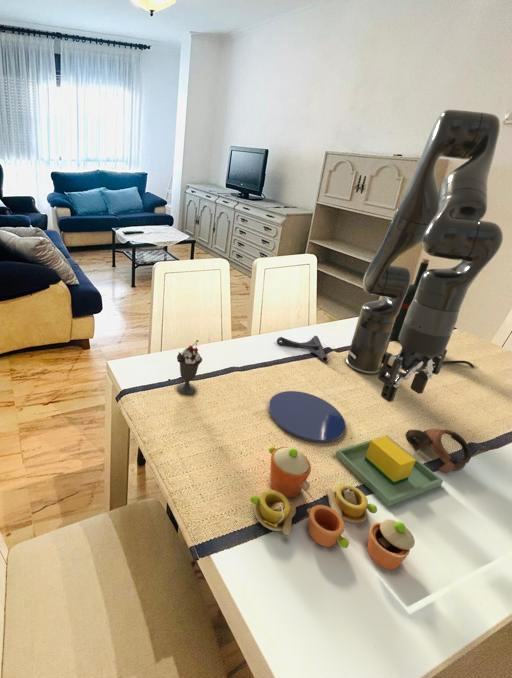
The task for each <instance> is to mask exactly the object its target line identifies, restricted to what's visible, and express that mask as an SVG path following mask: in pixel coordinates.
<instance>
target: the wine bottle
mask: <svg viewBox="0 0 512 678" xmlns="http://www.w3.org/2000/svg"><path fill="white" fill-rule="evenodd" d="M429 262H430V259H429V258H421V262H420V264H419V267H418V271H417V272H416V273H417V274H416V277H415V279H414V282H413V283H411V284H410V285H409V288H408V291H407V294H406V296H405V298H404V301H403V303H402V306H401V309H400V311H399V314H398V315H397V317H396V319H395V322H394V325H393V328H392V332H391V335H390V338H389V339H391V340H393V341H395V342H397V343H400V342H399V340H398V337H399V334H400V331H401V328H402V326H403V323H404V320H405V317H406V314H407V311H408V308H409V306H410V304H411V303H412V301H413V299H414V296H415V293H416V290H417V287H418V284H419V282H420V279H421V276H422V274H423V273H424V272H425V271H426V270H428V267H429Z"/></svg>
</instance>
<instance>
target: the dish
mask: <svg viewBox="0 0 512 678" xmlns="http://www.w3.org/2000/svg"><path fill="white" fill-rule="evenodd" d="M384 436H387V437H388V438H389V439H390V440H392V441H393V442H394V443H395V444H397V445H398V446H399V447H400V448H402V449H403V450H404V451H405V452H407V453H408V454H409V455H410V456H412V457H413V458H414V459H415V460H416V461H415V463H414V466H413V468H412V471H411V473H410V476H409V478H408V480H406V481H403V482H400V483H398V484H395V485H392V484H391V483H390V482H388V481H387V480H386V479H385V478H384V477H383V476H382V475H381V474H380V473H379V472H377V471H376V470H375V469H374V468H373V467H372V466H371V465H370V464H369V463H367V462H366V461H365V460H364V459H365V456H366V454H367V451H368V448H369V445H370V442H371V440H374V439H377V438H380V437H384ZM380 437H376V438H373V439H370V440H367V441H362V442H359V443H356V444H353V445H350V446H347V447H344V448H343V447H342V448H341V449H336V452H335V456H334V457H336V458H337V459H338V460H339V461H340V462H341V463H342V464H343V465H344V466H345V468H347V469H348V470H349V471H350V472H351V473H352V474H353V475H354V476H355V477H356V478H357V479H358V480H359V481H360V482H361V483H362V484H363V485H364V486H366V488H368V490H370V491H371V492H372V493H373V494H374V495H375V496H376V497H377V498H378V499H379V500H380V501H381V502H382V503H383V504H384V505H385V506H386V507H387V508H389V507H392V506H394V505H397V504H398V503H402V502H404V501H407V500H409V499H412V498H414V497H417V496H418V495H421V494H424V493H427V492H429V491H432V490H434V489H437V488H439V487H441V486H442V484H443V481H444V479H442V478H441V477H440V476H439V475H437V474H436V473H435V472H434V471H432V470H431V469H430V468H428V467H427V466H426V465H425V464H424V463H422V462H421V461H420V460H419V459H417V458H416V457H415V456H414V455H413V454H411V453H410V452H408V451H407V450H406V449H404V448H403V447H402V446H401V445H400V444H399V443H397V442H396V441H395V440H393V439H392V438H391V437H389V435H387V434H386V435H382V436H380Z"/></svg>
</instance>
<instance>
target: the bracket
mask: <svg viewBox="0 0 512 678" xmlns="http://www.w3.org/2000/svg"><path fill="white" fill-rule="evenodd" d="M276 343H277V345H278V346H281V347H286V348H287V347H288V348H293V349H294V348H295V349H301V350H302V349H303V350H307V351H309V352H310V353H312V354H314V355H316V356H317V357H318V358H319V359H321V360H322V361H323V362H327V361H329V359H328V356H327V354H326V352H325V349H324V347H323V345H322V342H321V340H320V339H319V337H318V335H313V337H311V339H310V340H308V341H306V342H297V341H293V340H291V339H287V338H285V337H282V336H280V337H278V338H277V339H276Z"/></svg>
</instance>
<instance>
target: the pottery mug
mask: <svg viewBox="0 0 512 678" xmlns="http://www.w3.org/2000/svg"><path fill="white" fill-rule="evenodd" d="M444 434H445V435H449V436H450V438H451V439H452V440H453V441H455V442H457V443H458V444H459V445H460V447H461V453H462V454H463V458H462V459H458V458H457V459H454V460H453V461H452V456H451V454H449V452H448V451H447V450H446V449H445V447H444V445H443V443H442V442H443V441H442V438H443V436H444ZM404 436H405V440H406V441H407V443H408V444H409V445H411V446H412V449H413V450H414V451H415V452H418V451H419V450H420V449H421V448H422V447H425V446H427V445H429V444H430V443H431V444H430V446H431V448H432V450H433V451H434V452H435V454H436V456H438V458H439V459H440V460H441V462H443V464H442V465H440V466H439V467H438V471H440V472H443V473H450V472H454V473H455V472H457V471H460V470H462V469H464V468H465V467H466V465H467V464H468V463H469V462H470V460H471V459H472V453H471V448H470V446H469V444H468V443H467V441H466V440H465V439H464V437H462V436H461V435H460V434H458V433H457V432H456V431H453V430H450V429H442V428H438V427H437V428H435V427H433V428H432V427H431V428H428V429H425V430H421V429H411V428H410V429H408V430H407V431H406V432H405V435H404Z"/></svg>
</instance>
